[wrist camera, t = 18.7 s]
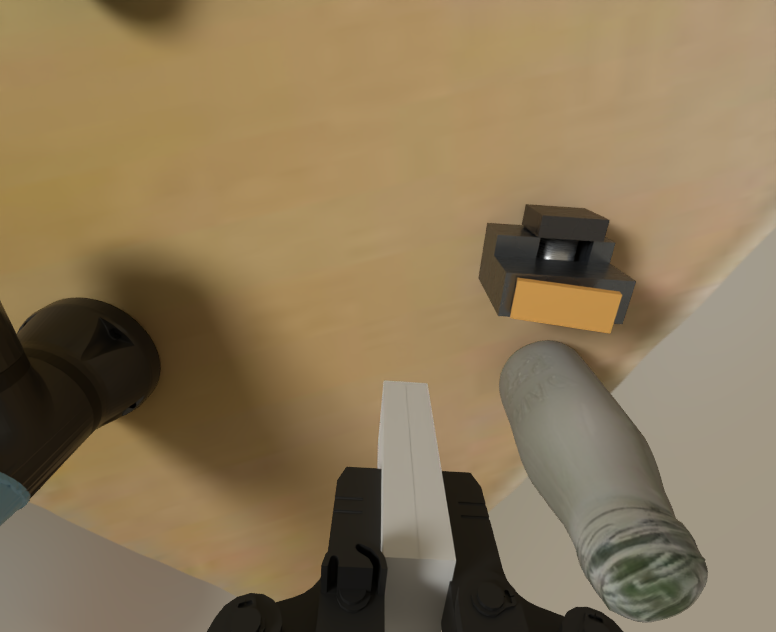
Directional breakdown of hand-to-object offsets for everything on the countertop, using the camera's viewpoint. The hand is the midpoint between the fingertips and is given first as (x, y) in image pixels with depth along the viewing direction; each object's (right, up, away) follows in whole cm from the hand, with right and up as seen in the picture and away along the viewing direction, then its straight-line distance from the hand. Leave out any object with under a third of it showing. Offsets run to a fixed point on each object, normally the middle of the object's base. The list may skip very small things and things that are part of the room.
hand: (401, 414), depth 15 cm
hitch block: (+15, +10, +31) cm, 36 cm away
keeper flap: (+14, +5, +21) cm, 26 cm away
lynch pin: (+16, +10, +31) cm, 36 cm away
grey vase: (+17, -2, +37) cm, 40 cm away
